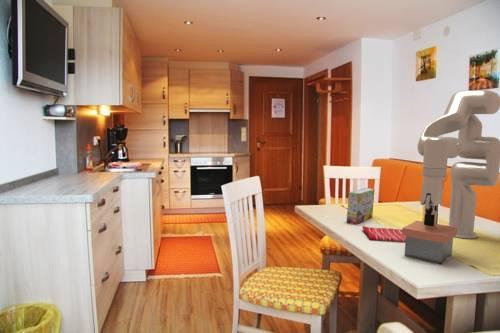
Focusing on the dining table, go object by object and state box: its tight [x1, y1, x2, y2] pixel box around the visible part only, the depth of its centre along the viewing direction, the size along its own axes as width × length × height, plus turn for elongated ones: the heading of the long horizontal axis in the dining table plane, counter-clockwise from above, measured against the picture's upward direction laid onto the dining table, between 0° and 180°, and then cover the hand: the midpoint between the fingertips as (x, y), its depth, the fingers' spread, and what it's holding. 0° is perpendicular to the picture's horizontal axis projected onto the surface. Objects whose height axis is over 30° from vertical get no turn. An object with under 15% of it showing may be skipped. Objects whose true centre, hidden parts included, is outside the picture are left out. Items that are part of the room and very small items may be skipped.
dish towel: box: [362, 225, 406, 244], centre depth 160 cm, size 17×24×3 cm
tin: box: [403, 236, 454, 265], centre depth 136 cm, size 14×12×9 cm
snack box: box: [346, 187, 375, 226], centre depth 188 cm, size 21×6×15 cm, turn 143°
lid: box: [401, 210, 458, 244], centre depth 135 cm, size 16×14×9 cm
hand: (430, 224), depth 135 cm, fingers closed on lid, 3 cm apart
